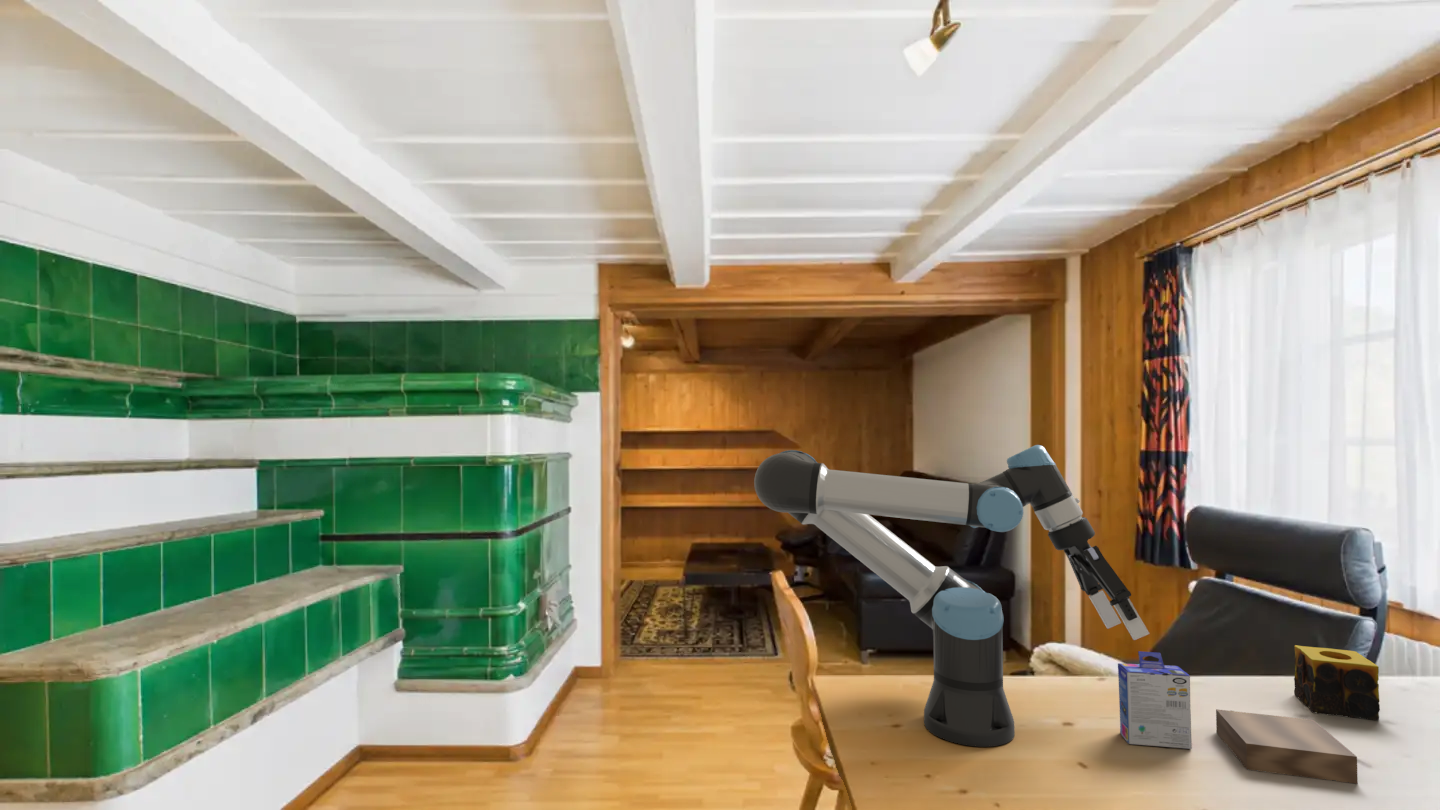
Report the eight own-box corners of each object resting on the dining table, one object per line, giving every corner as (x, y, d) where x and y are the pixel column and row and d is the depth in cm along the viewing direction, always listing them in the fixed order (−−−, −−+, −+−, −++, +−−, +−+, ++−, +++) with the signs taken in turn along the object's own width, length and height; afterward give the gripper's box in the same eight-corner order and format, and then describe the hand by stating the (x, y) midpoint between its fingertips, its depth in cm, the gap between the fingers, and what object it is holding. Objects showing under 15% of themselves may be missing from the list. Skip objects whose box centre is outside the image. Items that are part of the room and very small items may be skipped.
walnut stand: (1246, 769, 111) (1246, 743, 111) (1216, 732, 125) (1216, 709, 125) (1357, 783, 107) (1357, 756, 107) (1313, 743, 120) (1313, 719, 120)
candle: (1312, 713, 133) (1310, 659, 133) (1292, 694, 142) (1291, 644, 142) (1382, 722, 129) (1380, 666, 129) (1356, 702, 138) (1355, 650, 139)
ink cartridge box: (1179, 736, 123) (1178, 651, 124) (1194, 750, 118) (1192, 662, 118) (1117, 731, 125) (1116, 648, 126) (1128, 745, 120) (1127, 658, 120)
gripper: (1106, 514, 122) (1176, 632, 117) (1065, 515, 146) (1122, 613, 141) (1065, 533, 123) (1133, 651, 118) (1031, 531, 147) (1086, 629, 142)
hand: (1127, 631), depth 130 cm, fingers open, 13 cm apart
